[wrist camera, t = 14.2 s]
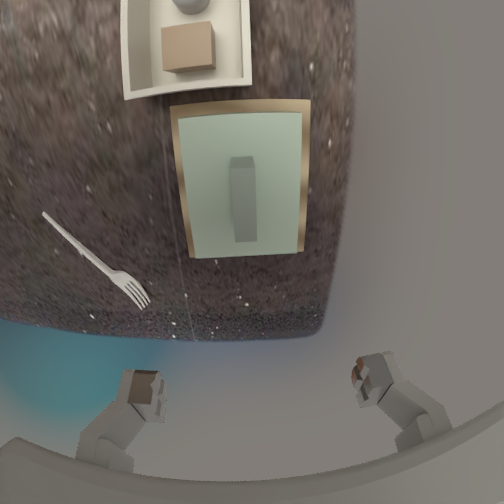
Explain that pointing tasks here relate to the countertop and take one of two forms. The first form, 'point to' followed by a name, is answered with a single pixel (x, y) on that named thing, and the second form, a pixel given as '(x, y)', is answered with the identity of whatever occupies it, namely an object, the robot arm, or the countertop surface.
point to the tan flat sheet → (243, 106)
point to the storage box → (184, 46)
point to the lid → (242, 181)
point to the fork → (106, 267)
